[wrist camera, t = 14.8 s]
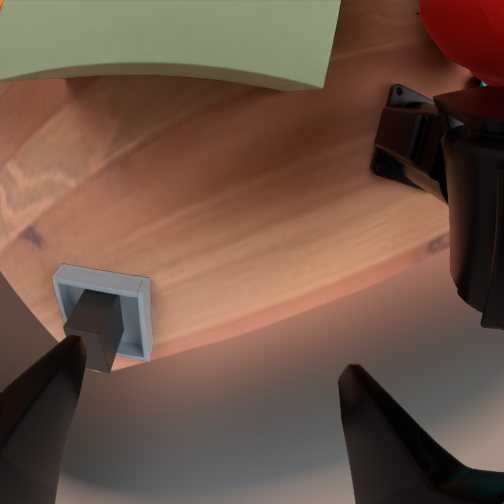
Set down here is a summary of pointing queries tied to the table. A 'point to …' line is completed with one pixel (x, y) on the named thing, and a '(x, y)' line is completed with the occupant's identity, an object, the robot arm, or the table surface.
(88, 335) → the charcoal rectangular block
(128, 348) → the dish
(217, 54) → the cabinet
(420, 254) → the table surface
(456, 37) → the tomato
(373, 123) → the table surface
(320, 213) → the table surface
